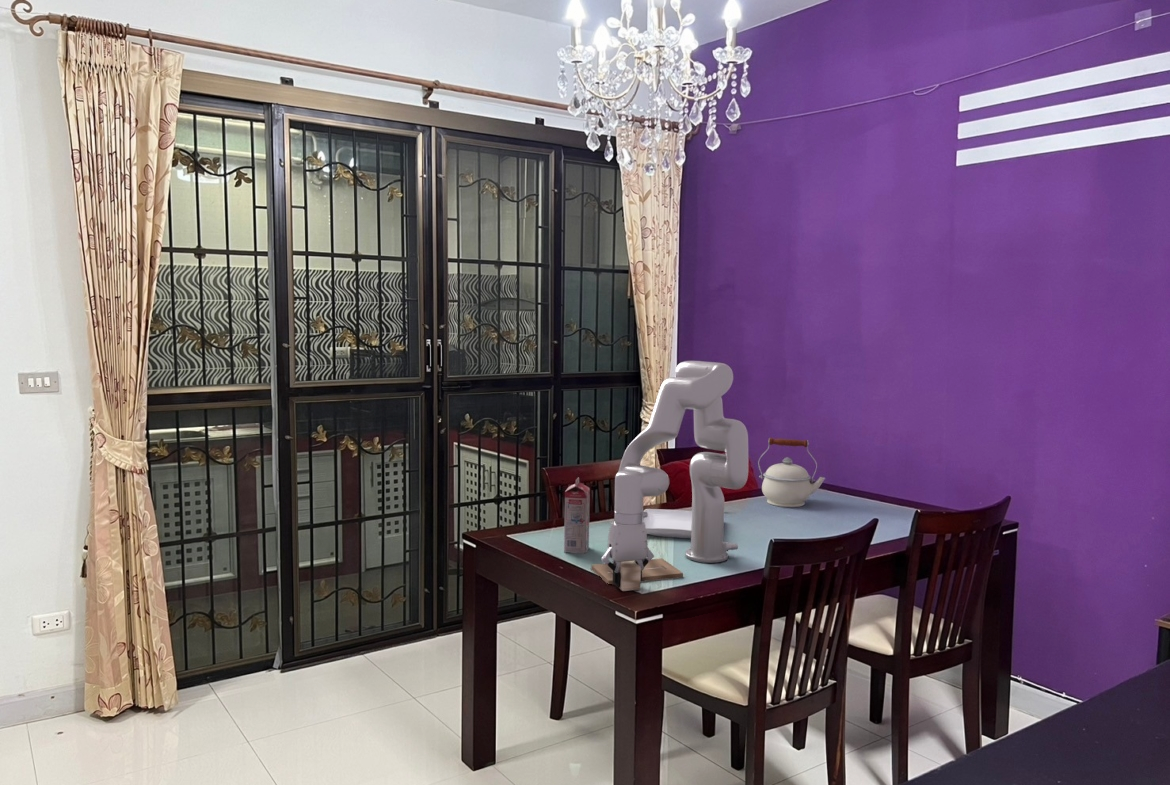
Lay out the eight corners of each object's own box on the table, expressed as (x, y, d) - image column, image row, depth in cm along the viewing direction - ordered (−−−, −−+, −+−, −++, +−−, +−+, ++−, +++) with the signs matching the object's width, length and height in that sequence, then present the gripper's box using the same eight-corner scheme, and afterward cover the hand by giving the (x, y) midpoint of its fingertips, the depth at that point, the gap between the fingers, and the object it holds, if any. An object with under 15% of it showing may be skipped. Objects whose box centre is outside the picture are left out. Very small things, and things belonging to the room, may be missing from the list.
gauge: (623, 575, 231) (623, 553, 230) (640, 589, 219) (640, 567, 219) (606, 576, 229) (606, 555, 228) (622, 591, 218) (623, 568, 217)
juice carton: (564, 552, 252) (565, 480, 250) (567, 546, 259) (568, 476, 256) (585, 553, 251) (586, 481, 249) (588, 547, 258) (589, 477, 256)
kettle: (754, 506, 315) (757, 440, 312) (759, 495, 332) (761, 433, 330) (823, 511, 308) (826, 445, 305) (824, 500, 325) (827, 437, 322)
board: (662, 562, 244) (662, 558, 244) (682, 577, 231) (683, 572, 230) (591, 569, 237) (591, 564, 236) (608, 584, 223) (608, 580, 223)
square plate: (719, 544, 265) (719, 532, 264) (633, 538, 270) (634, 526, 270) (722, 522, 291) (722, 511, 291) (644, 517, 297) (645, 507, 296)
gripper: (652, 512, 226) (651, 577, 228) (593, 516, 220) (592, 583, 222) (664, 519, 219) (662, 586, 221) (603, 523, 213) (601, 592, 215)
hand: (627, 584), depth 221 cm, fingers closed on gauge, 5 cm apart
